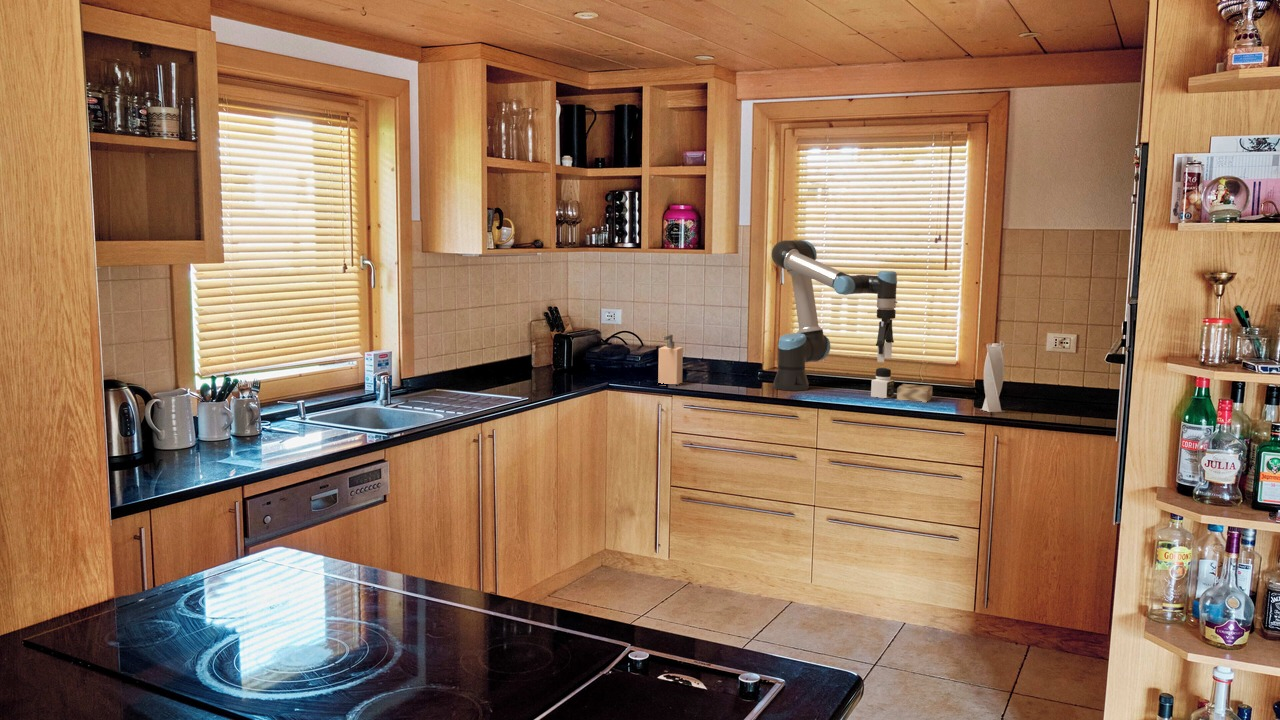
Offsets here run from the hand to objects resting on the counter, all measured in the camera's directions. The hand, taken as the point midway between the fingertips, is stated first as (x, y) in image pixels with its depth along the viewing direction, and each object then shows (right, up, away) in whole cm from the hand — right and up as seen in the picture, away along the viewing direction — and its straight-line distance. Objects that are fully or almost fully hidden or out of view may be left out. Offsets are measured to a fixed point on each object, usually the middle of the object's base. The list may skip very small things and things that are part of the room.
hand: (884, 360), depth 415 cm
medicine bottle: (0, -15, +2) cm, 16 cm away
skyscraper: (+35, -20, -29) cm, 49 cm away
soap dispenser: (-88, -11, +26) cm, 93 cm away
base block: (+12, -16, -3) cm, 20 cm away
